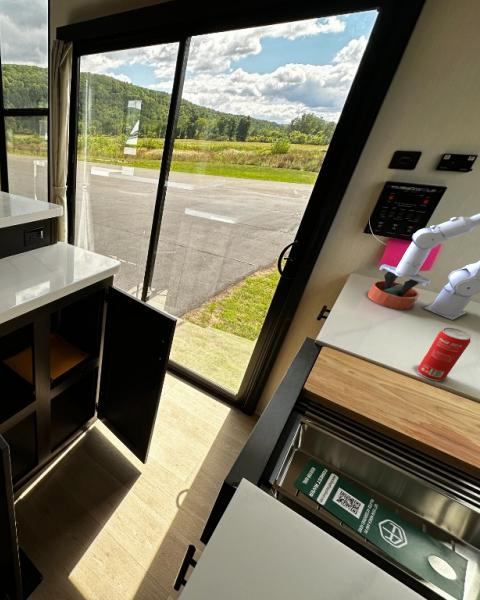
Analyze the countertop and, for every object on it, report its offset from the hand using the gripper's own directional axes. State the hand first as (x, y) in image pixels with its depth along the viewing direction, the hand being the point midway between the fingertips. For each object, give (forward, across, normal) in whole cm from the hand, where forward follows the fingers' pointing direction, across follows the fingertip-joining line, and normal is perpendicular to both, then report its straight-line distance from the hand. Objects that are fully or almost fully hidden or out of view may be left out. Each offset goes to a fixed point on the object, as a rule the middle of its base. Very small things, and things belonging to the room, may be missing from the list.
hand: (392, 293), depth 122 cm
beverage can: (+3, +27, -34) cm, 44 cm away
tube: (+1, 0, 0) cm, 1 cm away
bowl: (+3, 0, 0) cm, 3 cm away
